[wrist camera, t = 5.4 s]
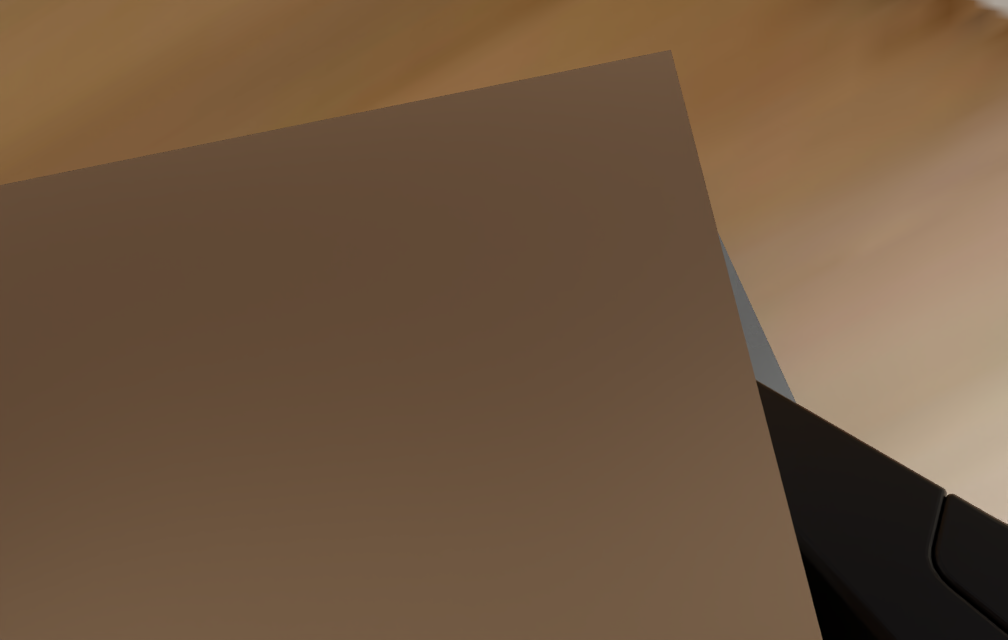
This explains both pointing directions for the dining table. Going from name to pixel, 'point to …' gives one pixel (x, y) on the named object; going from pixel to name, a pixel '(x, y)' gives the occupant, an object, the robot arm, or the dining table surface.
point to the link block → (392, 384)
